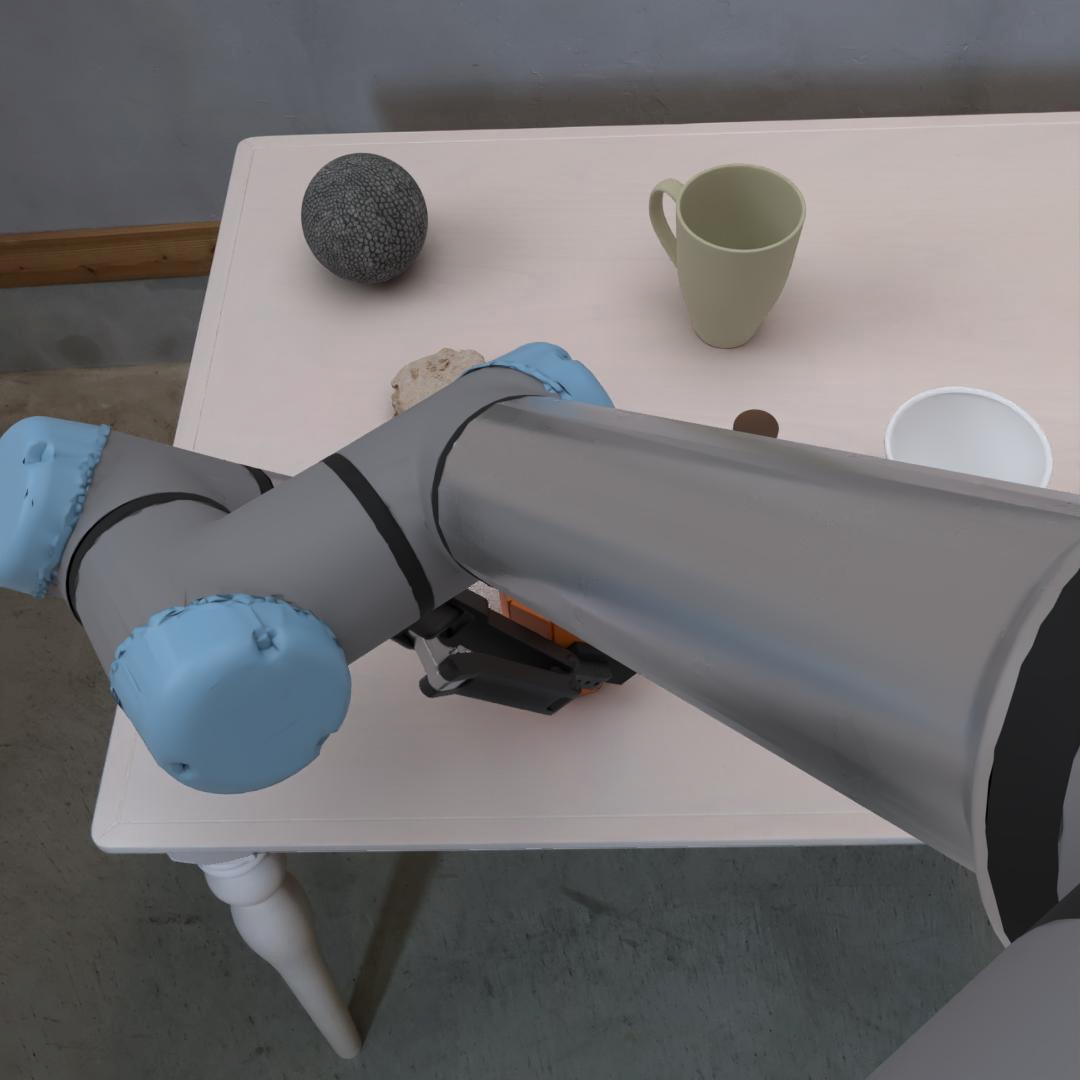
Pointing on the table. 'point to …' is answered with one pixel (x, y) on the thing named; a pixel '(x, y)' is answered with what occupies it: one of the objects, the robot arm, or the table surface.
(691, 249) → the mug
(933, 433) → the cup
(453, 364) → the stone
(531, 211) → the table surface
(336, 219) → the decorative ball
